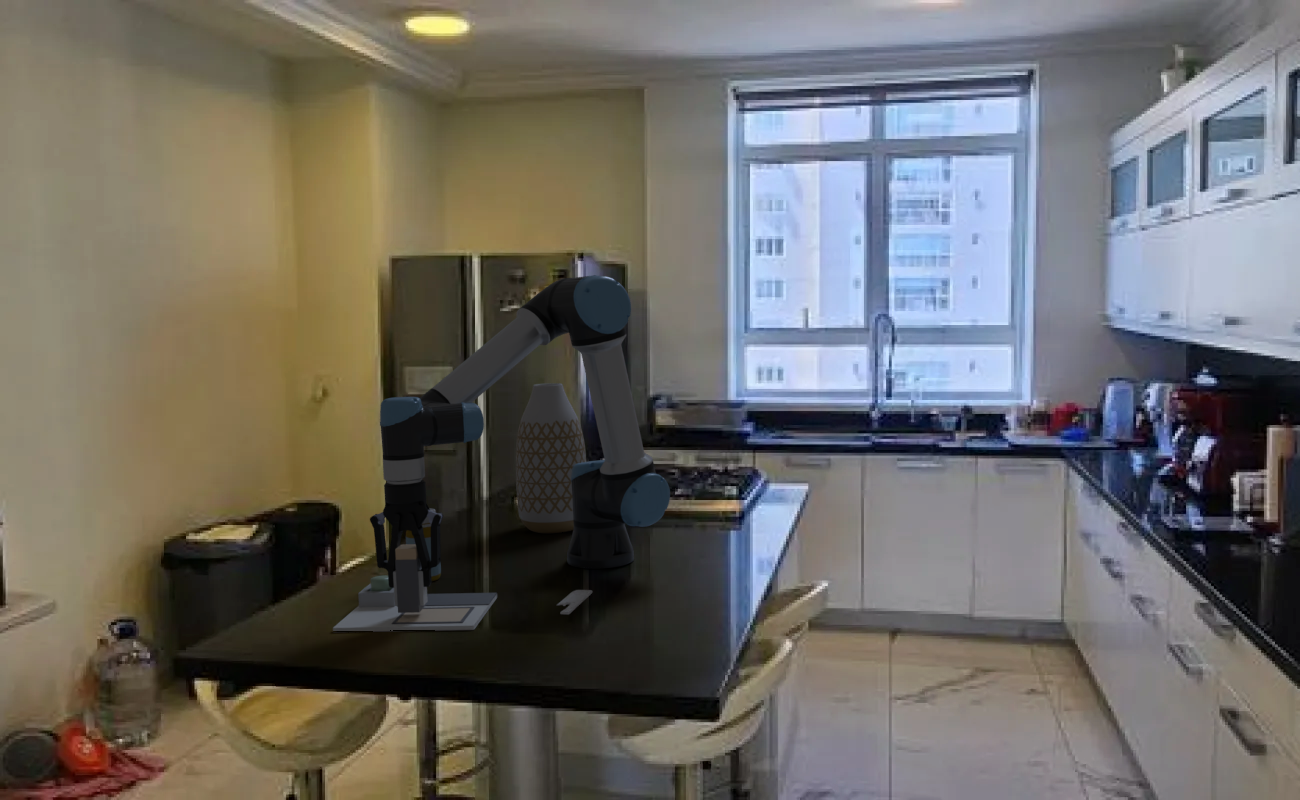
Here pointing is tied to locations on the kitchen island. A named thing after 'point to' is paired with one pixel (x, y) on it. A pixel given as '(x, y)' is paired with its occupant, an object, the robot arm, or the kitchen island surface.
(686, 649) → the kitchen island surface
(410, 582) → the two-tone square rod
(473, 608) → the board
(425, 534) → the bottle
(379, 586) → the button
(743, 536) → the kitchen island surface
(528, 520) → the vase
